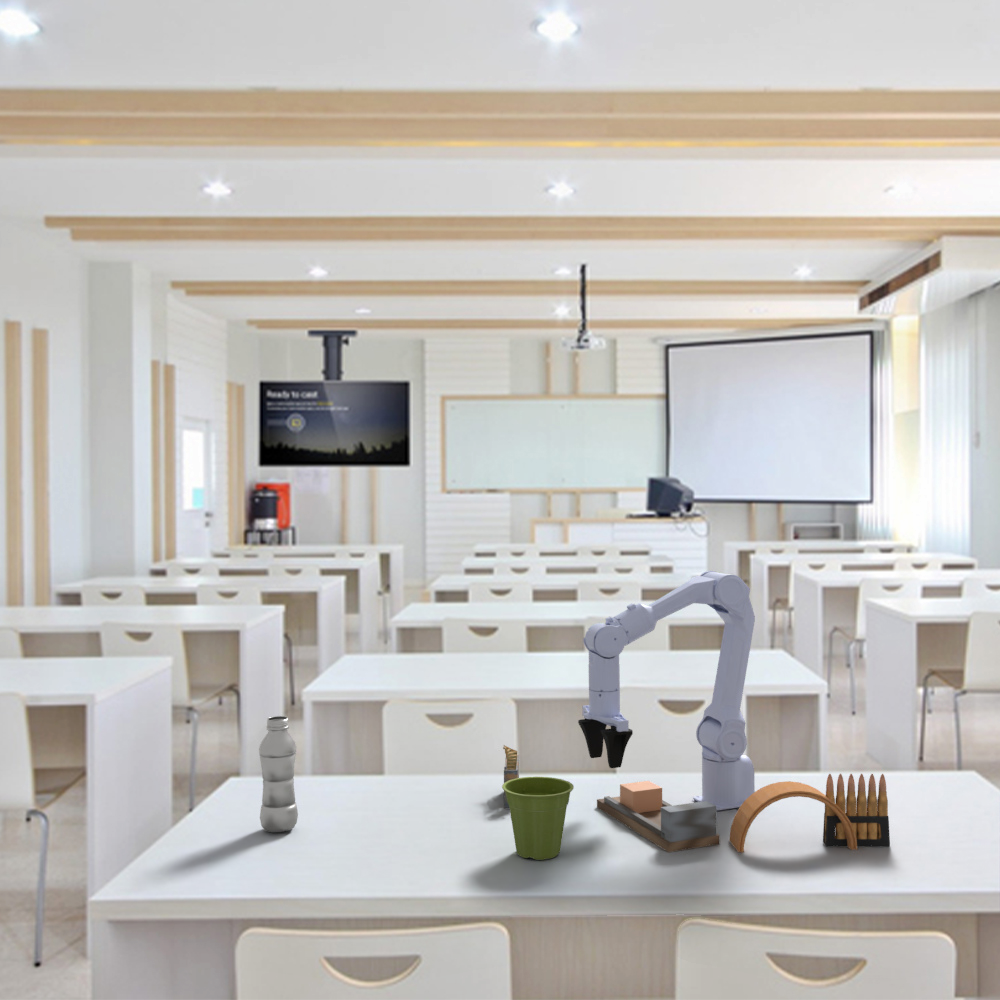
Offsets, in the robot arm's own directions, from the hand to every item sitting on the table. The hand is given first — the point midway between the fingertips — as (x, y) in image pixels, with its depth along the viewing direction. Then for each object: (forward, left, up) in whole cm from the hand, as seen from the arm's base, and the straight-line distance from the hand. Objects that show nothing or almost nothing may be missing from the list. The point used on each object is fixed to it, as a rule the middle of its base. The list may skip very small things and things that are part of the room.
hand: (605, 762), depth 190 cm
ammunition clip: (-31, +31, -10) cm, 45 cm away
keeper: (-5, +4, -8) cm, 10 cm away
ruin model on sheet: (+13, -15, -10) cm, 22 cm away
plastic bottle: (+58, -14, -10) cm, 60 cm away
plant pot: (+20, +14, -10) cm, 26 cm away
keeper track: (-5, +9, -10) cm, 14 cm away
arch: (-21, +27, -10) cm, 36 cm away
